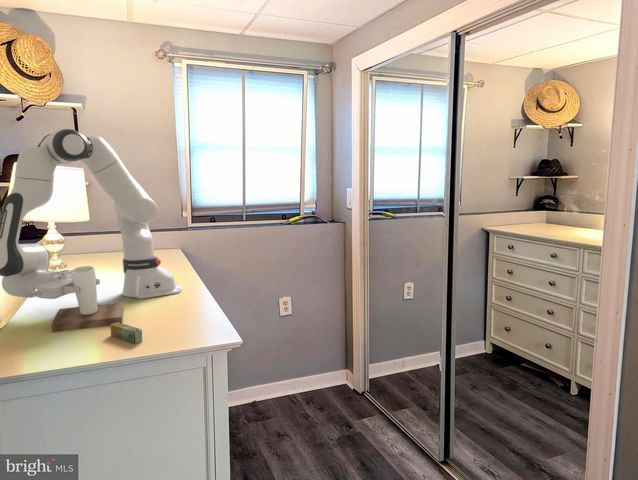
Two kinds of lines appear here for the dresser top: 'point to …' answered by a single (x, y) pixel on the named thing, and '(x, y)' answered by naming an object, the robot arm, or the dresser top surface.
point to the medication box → (126, 333)
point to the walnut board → (87, 317)
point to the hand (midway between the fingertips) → (89, 285)
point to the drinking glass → (85, 289)
